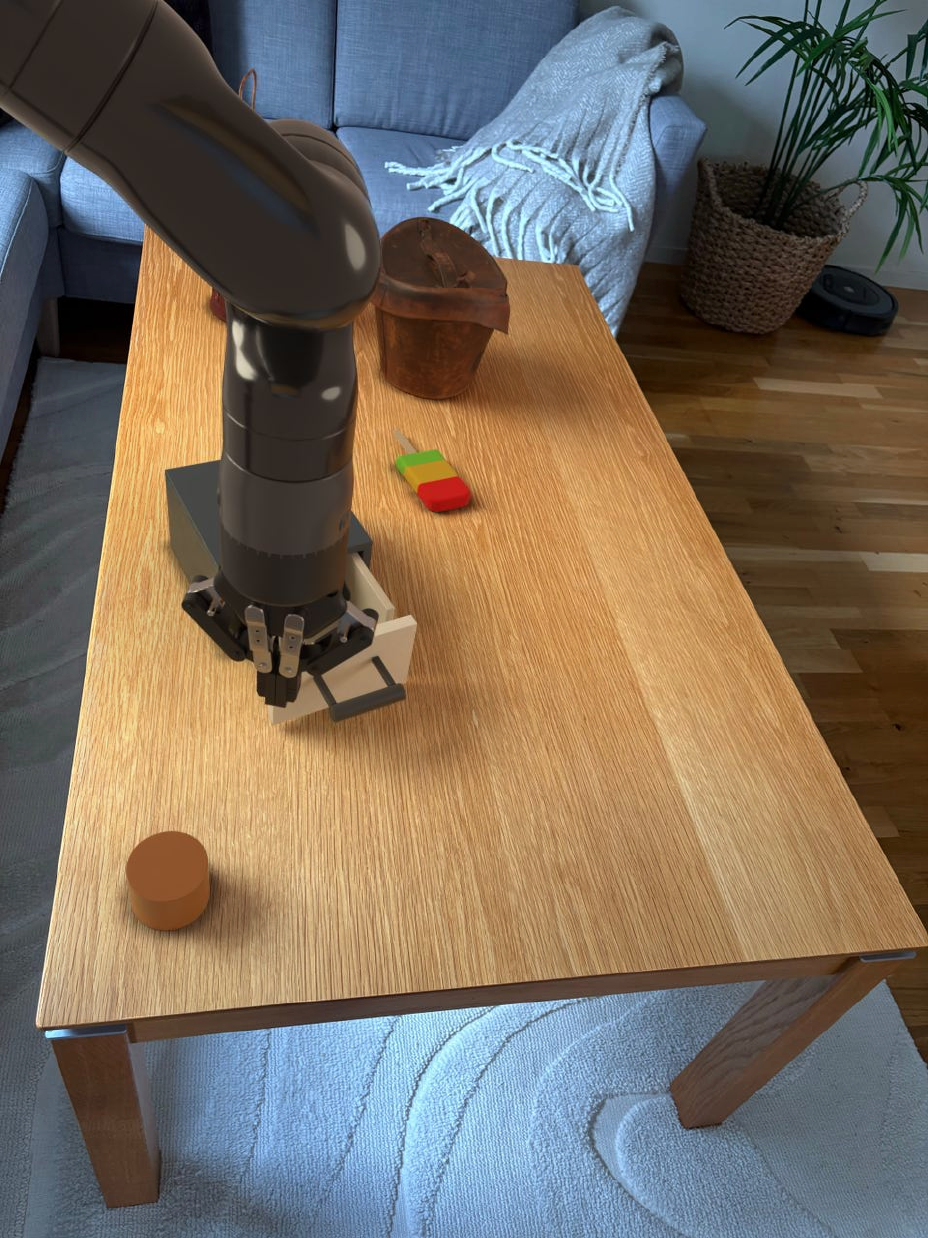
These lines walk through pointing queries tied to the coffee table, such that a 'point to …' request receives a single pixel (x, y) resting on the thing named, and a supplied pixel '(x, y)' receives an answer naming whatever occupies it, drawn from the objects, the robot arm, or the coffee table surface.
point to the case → (436, 307)
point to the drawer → (358, 660)
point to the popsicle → (431, 477)
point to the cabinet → (215, 521)
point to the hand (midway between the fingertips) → (278, 697)
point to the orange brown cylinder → (168, 880)
